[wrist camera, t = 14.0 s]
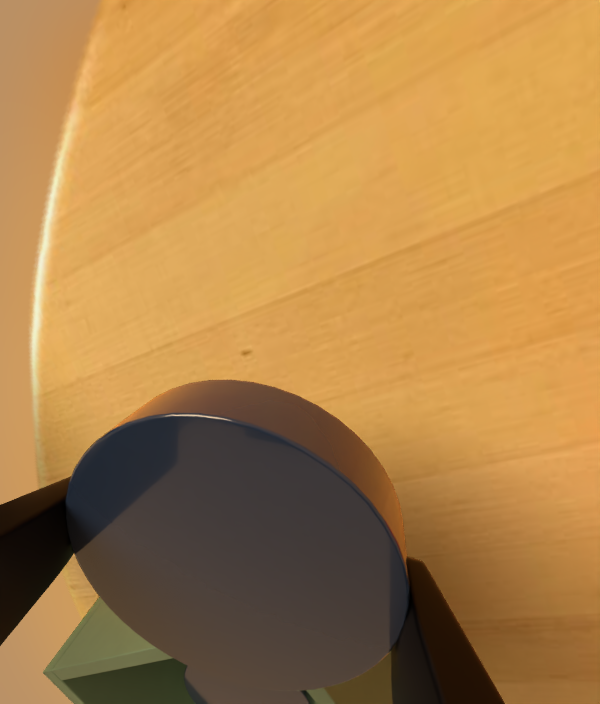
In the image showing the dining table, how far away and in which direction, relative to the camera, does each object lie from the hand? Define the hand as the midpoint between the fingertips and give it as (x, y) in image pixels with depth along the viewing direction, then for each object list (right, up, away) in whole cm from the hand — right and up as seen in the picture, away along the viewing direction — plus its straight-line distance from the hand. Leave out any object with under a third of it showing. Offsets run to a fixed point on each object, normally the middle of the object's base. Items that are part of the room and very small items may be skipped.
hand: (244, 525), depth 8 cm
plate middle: (0, 0, +1) cm, 1 cm away
